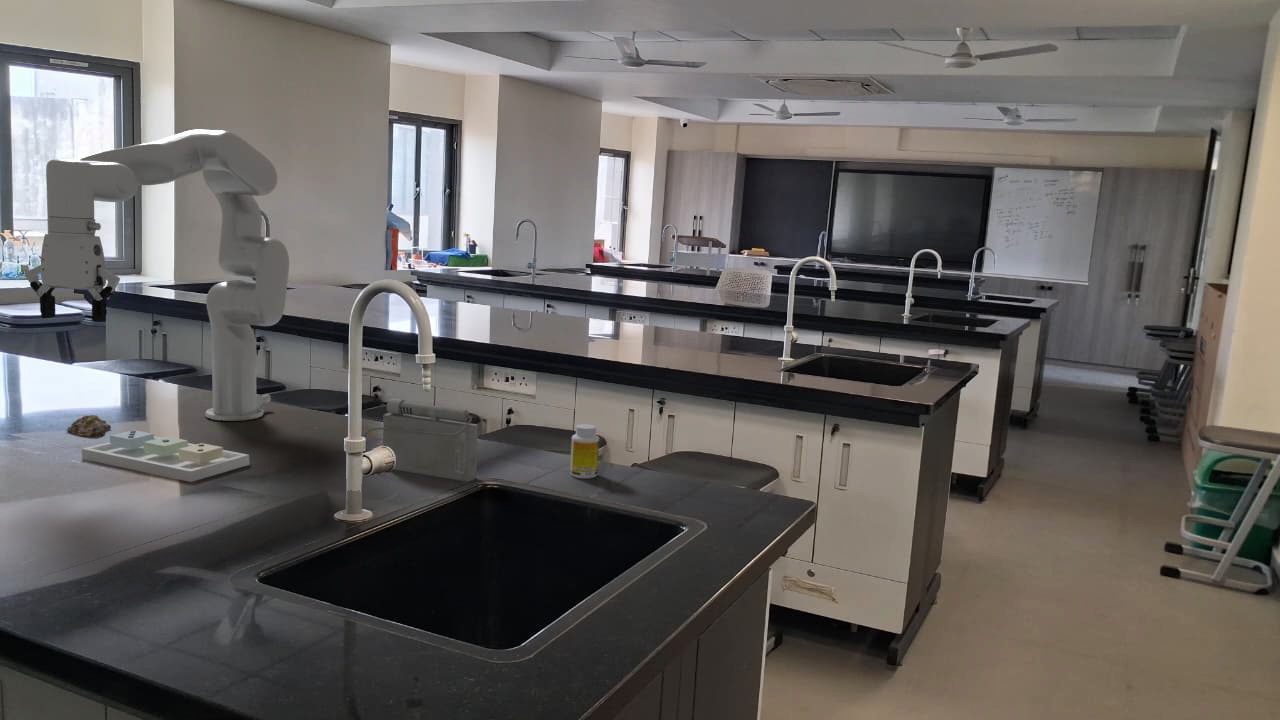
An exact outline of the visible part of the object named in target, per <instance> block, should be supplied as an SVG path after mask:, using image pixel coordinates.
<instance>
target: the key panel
mask: <svg viewBox="0 0 1280 720" xmlns="http://www.w3.org/2000/svg"><path fill="white" fill-rule="evenodd" d="M159 438H161V436H160V437H159V436H155V435H154V440H155V439H159ZM192 445H196V443H190V442H188V446H192ZM81 459H82V460H86V461H91V462H95V463H101V464H104V465H109V466H114V467H120V468H123V469H128V470H132V471H137V472H140V473H141V472H142V473H148V474H152V475H156V476H159V477H160V476H161V477H165V478H169V477H170V479H176V480H180V481H183V482H189V483H192V482H196V481H199V480H203V479H205V478H209V477H213V476H217V475H219V474H223V473H227V472H229V471H232V470H233V471H234V470H237V469H240V468H243V467H247V466H250V454H246V453H242V452H238V451H237V452H236V451H230V450H225V449H223V457H222V458H219V459H215V460H212V461H208V462H204V463H201V464H199V463H195V462H190V461H185V460H180V459H179V453H176V454H172V455H168V456H160V455H155V454H150V453H145V452H144V446H143V447H138V448H134V449H126V448H121V447H116V446H111V445H110V442H105V443H102V444H96V445H92V446H88V447H83V448H81Z"/></svg>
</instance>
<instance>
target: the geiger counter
mask: <svg viewBox="0 0 1280 720" xmlns="http://www.w3.org/2000/svg"><path fill="white" fill-rule="evenodd" d="M386 410H387V411H386V412H387V413H385V414H383V415H382V418H383V419H382V427H380V426H378V427H376V426H375V427H372V428H370V429H368V430H366V431H365V433H364V434H363V435H362V437H363V436H364V437H365V438H366V437H367V435H368V434H369V433H370V432H371V431H372V432H373V431H376V430H382V446H383V445H384V446H388V447H390V448H391V449H392V450H393V451H394V453H395V455H396V466H395V469H393V470H394V471H401V472H407V473H413V474H420V475H426V476H431V477H436V478H441V479H442V478H443V479H449V480H450V479H451V480H454V481H461V482H471V481H474V480H475V479H477V465H478V464H477V463H478V461H477V460H478V458H477V457H478V432H479V430H478V429H479V428H478V427H479V425H478V424H477V423H471V422H472V420H473V417H472V416H471V415H470V414H469V411H468V410H467V409H461V408H455V407H446V406H439V405H431V404H426V403H425V404H424V403H416V402H411V401H406V400H405V399H400V398H389V399H388V400H387V404H386ZM468 419H469V420H468ZM373 448H374V447H372V448H371V447H369V446H368V445H367V444H366V447H365V449H367V450H368V451H370V450H371V449H373Z"/></svg>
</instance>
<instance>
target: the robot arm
mask: <svg viewBox="0 0 1280 720" xmlns="http://www.w3.org/2000/svg"><path fill="white" fill-rule="evenodd" d="M45 166H46V167H45V176H46V177H45V178H46V182H45V183H46V211H47V213H46V214H47V220H46V221H47V233H45V234H44V237H43V242H42V247H41V253H40V254H41V255H40V265H38V266H36V267H33V268H31V269H29V270H27V271H25V273H24V274H25V277H26V279H27V281H28V283H29V286H30V287H31V289H32V290H33V291H34V293H35V295H36V296H37V297H39V311H40V317H41V319H50V318H54V317H56V297H55V295H52V294H53V293H54V292H55V290H56V289H68V290H69V289H72V290H87V291H88V292H89V294H91V295H92V297H93V298H94V299H93V300H91V320H92V321H93V322H95V323H97V322H103V321H104V322H105V321H106V320H107V319H106V317H107V315H108V314H107V311H108V310H107V307H108V306H107V300H109V299H110V298H111V296H112V295H113V294H114V293H115V292H116V288H117V287H118V285H119V283H120V282H121V281H120V280H121V278H120V276H118V275H116V274H114V273H112V272H111V271H109V270H107V268H106V260H105V254H104V249H103V244H102V240H101V237H100V236H97V235H96V231H100V230H101V229H102V224H101V223H99V222H96V219H95V202H102V203H103V202H104V203H122V202H127V201H129V200H130V199H132V198H133V197H135V195H136V194H137V192H138V190H139V187H140V186H156V185H163V184H165V185H166V184H169V183H171V182H174V181H178V180H179V179H181V178H184V177H187V176H190V175H193V174H197V173H199V172H202V177H203V180H204V182H205V184H206V185H207V187H208V189H210V191H211V192H212V193H213V194H214V196H215V198H216V200H217V201H218V204H219V207H220V209H221V230H220V239H219V248H218V249H219V251H218V265H219V267H220V270H222V271H223V272H224V274H228V275H230V276H231V275H232V276H237V277H245V278H255V283H253V282H252V283H251V282H243V281H222V282H218V283H215V284H214V285H213V286H211V288H210V289H209V290H208V293H207V294H206V301H205V302H206V309H207V314H208V315H207V316H208V318H209V323H210V331H211V365H212V366H211V367H212V368H211V369H212V371H211V372H212V373H211V374H212V375H211V376H212V378H211V379H212V380H211V381H212V407H211V408H208V409H207V410H206V411H205V417H206V418H207V419H209V418H210V420H212V421H213V420H214V421H221V420H222V421H221V422H223V421H224V422H225V421H226V422H238V421H239V422H240V421H248V420H255V419H258V418H260V417H261V418H262V416H263V415H264V409H263V408H261V407H260V406H261V405H262V404H267V403H270V402H271V400H272V397H271V395H270V394H268V393H267V394H262V395H260V394H257V339H256V336H255V333H254V331H253V329H252V327H251V326H260V327H271V326H274V325H276V324H277V323H279V321H280V320H282V317H283V314H284V312H285V306H286V298H287V291H288V289H287V288H288V281H289V272H290V256H289V253H288V249H287V247H286V246H285V244H284V243H283V242H282V241H281V240H279V239H277V238H274V237H269V236H262V222H263V218H262V217H263V216H262V212H261V208H260V206H259V203H258V202H257V200H256V199H255V197H263V196H266V195H269V194H271V193H272V192H273V191H274V190H275V188H276V186H277V184H278V173H277V169H276V167H275V166H274V164H273V163H272V162H271V160H270V159H269V158H267V156H265V155H264V154H263V153H261V152H260V151H259V150H257V149H256V148H255V147H254V146H253V145H252V144H250V143H249V142H247V141H246V140H244V139H243V138H242V137H240V136H238V135H237V134H235V133H234V132H231V131H229V130H228V131H227V130H218V129H217V130H216V129H213V130H211V129H192V130H191V129H190V130H186V131H183V132H180V133H176V134H173V135H171V136H166V137H164V138H160V139H158V140H154V141H151V142H146V143H141V144H140V143H139V144H135V145H130V146H125V147H121V148H115V149H109V150H104V151H103V150H102V151H99V152H95V153H92V154H91V153H90V154H88V155H85V156H81V157H78V158H75V159H63V158H62V159H61V158H58V159H57V158H55V159H54V158H53V159H50V160H49V161H48V162H47V163H46V165H45ZM39 275H40V278H41V279H39ZM40 280H41V281H40ZM106 283H107V284H106Z"/></svg>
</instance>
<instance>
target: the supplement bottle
mask: <svg viewBox="0 0 1280 720" xmlns="http://www.w3.org/2000/svg"><path fill="white" fill-rule="evenodd" d="M596 433H597V427H596V425H593V424H588V423H586V424H585V423H584V424H583V423H581V424H577V425H576V428H575V433H574V434H573V435H572V436H571V440H570V441H571V444H570V462H569V463H570V465H569V466H570V467H569V469H570V470H569V474H570V475H571V476H572V477H573V478H576V479H582V480H585V479H586V480H587V479H593V478H596V477H597V476H598V470H599V468H598V467H599V454H600V453H599V452H600V451H599V450H600V437H599V436H598V435H597V434H596Z"/></svg>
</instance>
